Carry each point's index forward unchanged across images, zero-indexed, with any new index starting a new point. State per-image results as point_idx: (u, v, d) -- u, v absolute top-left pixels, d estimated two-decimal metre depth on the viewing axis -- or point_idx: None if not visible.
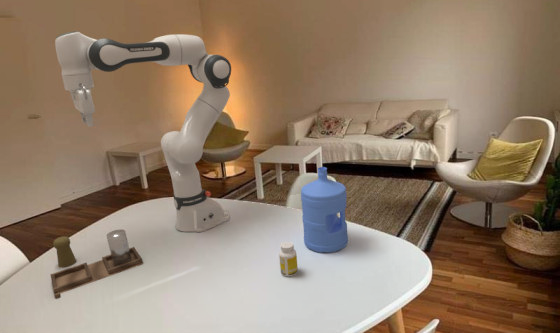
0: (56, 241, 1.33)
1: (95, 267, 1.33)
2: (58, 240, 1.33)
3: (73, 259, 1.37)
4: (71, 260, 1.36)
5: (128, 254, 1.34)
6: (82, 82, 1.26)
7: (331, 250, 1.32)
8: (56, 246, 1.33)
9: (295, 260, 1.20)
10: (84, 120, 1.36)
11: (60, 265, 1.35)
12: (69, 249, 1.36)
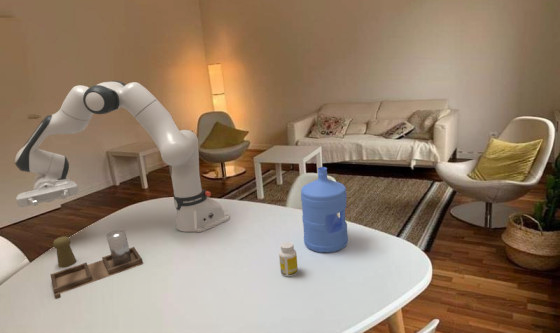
0: (56, 241, 1.33)
1: (95, 267, 1.33)
2: (58, 240, 1.33)
3: (73, 259, 1.37)
4: (71, 260, 1.36)
5: (128, 254, 1.34)
6: None
7: (331, 250, 1.32)
8: (56, 246, 1.33)
9: (295, 260, 1.20)
10: (62, 197, 1.44)
11: (60, 265, 1.35)
12: (69, 249, 1.36)
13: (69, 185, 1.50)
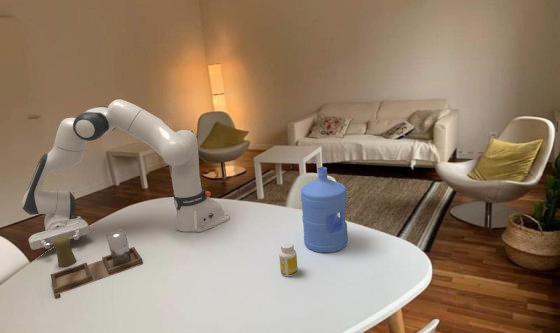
0: (56, 241, 1.33)
1: (95, 267, 1.33)
2: (58, 240, 1.33)
3: (73, 259, 1.37)
4: (71, 260, 1.36)
5: (128, 254, 1.34)
6: None
7: (331, 250, 1.32)
8: (56, 246, 1.33)
9: (295, 260, 1.20)
10: (74, 238, 1.46)
11: (60, 265, 1.35)
12: (69, 249, 1.36)
13: (80, 225, 1.52)
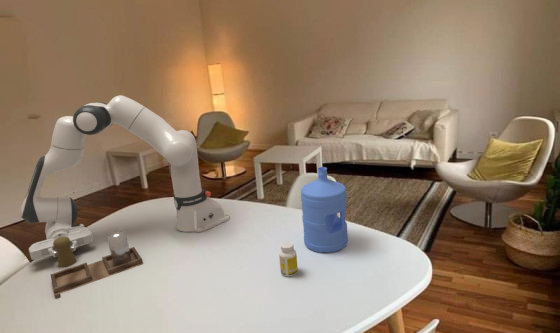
0: (56, 241, 1.33)
1: (95, 267, 1.33)
2: (58, 240, 1.33)
3: (73, 259, 1.37)
4: (71, 260, 1.36)
5: (128, 254, 1.34)
6: None
7: (331, 250, 1.32)
8: (56, 246, 1.33)
9: (295, 260, 1.20)
10: None
11: (60, 265, 1.35)
12: (69, 249, 1.36)
13: (83, 233, 1.44)
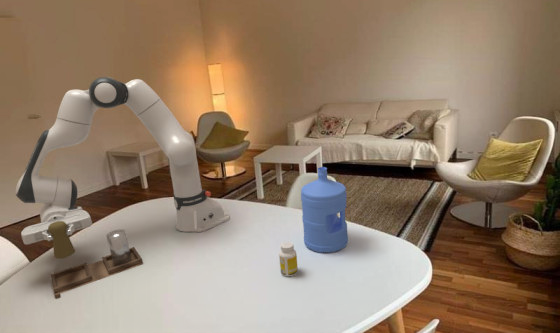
0: (51, 225, 1.21)
1: (95, 267, 1.33)
2: (53, 224, 1.21)
3: (70, 246, 1.25)
4: (68, 247, 1.24)
5: (128, 254, 1.34)
6: None
7: (331, 250, 1.32)
8: (51, 231, 1.21)
9: (295, 260, 1.20)
10: None
11: (56, 252, 1.23)
12: (66, 235, 1.24)
13: (81, 216, 1.32)
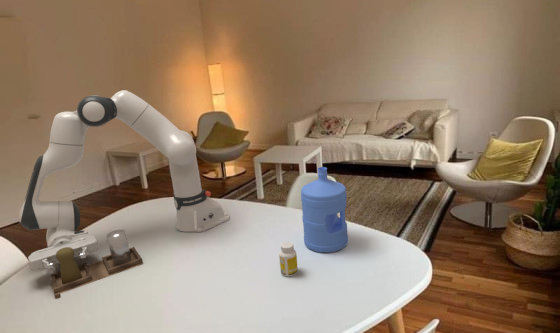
0: (59, 252, 1.22)
1: (95, 267, 1.33)
2: (61, 251, 1.23)
3: (77, 272, 1.26)
4: (75, 273, 1.25)
5: (128, 254, 1.34)
6: None
7: (331, 250, 1.32)
8: (59, 258, 1.22)
9: (295, 260, 1.20)
10: None
11: (63, 278, 1.24)
12: (73, 261, 1.25)
13: (88, 241, 1.33)
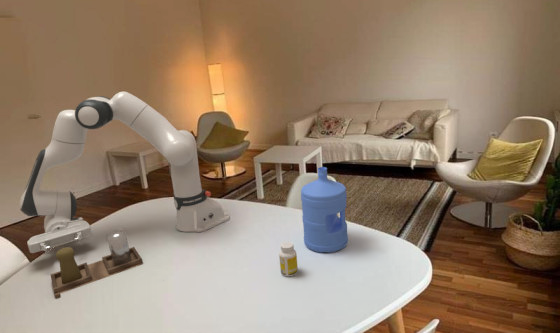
0: (59, 252, 1.22)
1: (95, 267, 1.33)
2: (61, 251, 1.23)
3: (77, 272, 1.26)
4: (75, 273, 1.25)
5: (128, 254, 1.34)
6: (45, 233, 1.44)
7: (331, 250, 1.32)
8: (59, 258, 1.22)
9: (295, 260, 1.20)
10: None
11: (63, 278, 1.24)
12: (73, 261, 1.25)
13: (82, 226, 1.44)
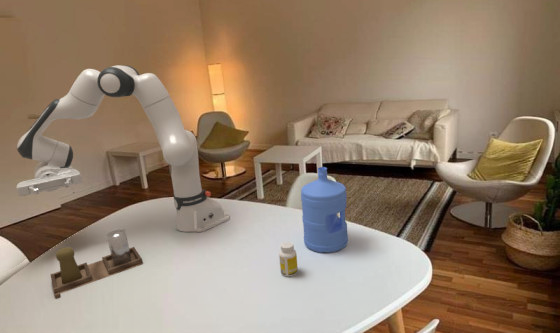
0: (59, 252, 1.22)
1: (95, 267, 1.33)
2: (61, 251, 1.23)
3: (77, 272, 1.26)
4: (75, 273, 1.25)
5: (128, 254, 1.34)
6: None
7: (331, 250, 1.32)
8: (59, 258, 1.22)
9: (295, 260, 1.20)
10: (64, 185, 1.37)
11: (63, 278, 1.24)
12: (73, 261, 1.25)
13: (72, 173, 1.42)
